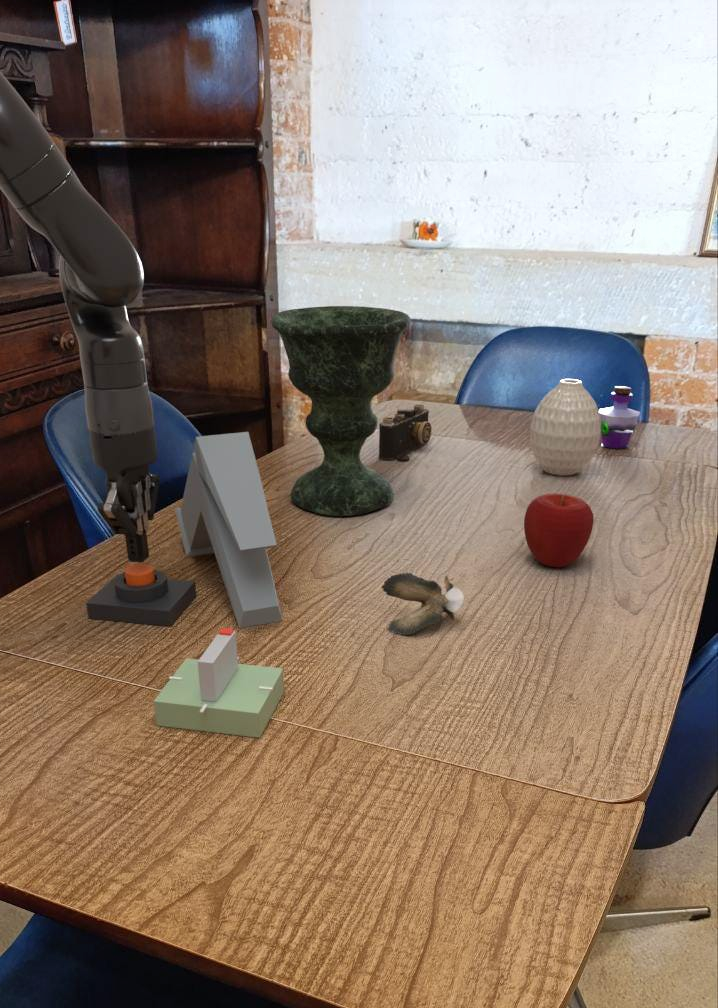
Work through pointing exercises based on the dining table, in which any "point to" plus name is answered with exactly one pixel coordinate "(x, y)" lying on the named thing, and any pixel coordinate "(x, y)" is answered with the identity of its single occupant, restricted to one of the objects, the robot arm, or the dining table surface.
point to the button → (139, 575)
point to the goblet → (341, 398)
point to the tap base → (221, 701)
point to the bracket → (231, 523)
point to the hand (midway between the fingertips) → (138, 559)
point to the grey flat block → (218, 665)
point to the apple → (557, 528)
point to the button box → (142, 601)
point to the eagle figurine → (422, 601)
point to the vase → (565, 429)
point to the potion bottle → (618, 420)
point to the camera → (404, 433)
